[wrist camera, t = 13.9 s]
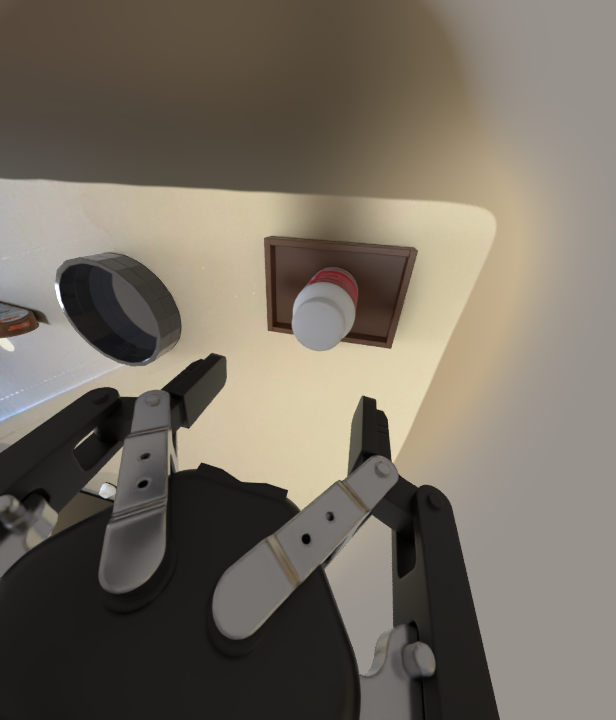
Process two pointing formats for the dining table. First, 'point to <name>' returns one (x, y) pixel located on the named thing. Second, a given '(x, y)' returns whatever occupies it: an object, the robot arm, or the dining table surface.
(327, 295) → the pill bottle
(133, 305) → the bowl
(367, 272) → the tray
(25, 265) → the dining table surface
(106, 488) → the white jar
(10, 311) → the tin
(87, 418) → the robot arm
